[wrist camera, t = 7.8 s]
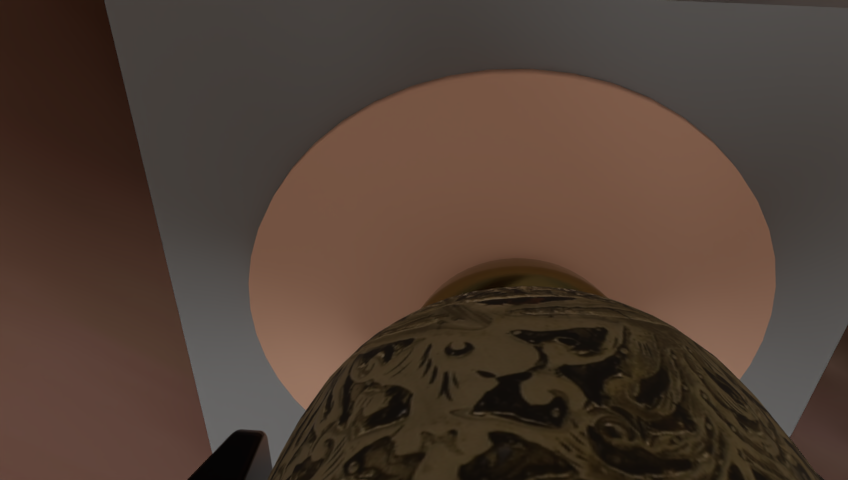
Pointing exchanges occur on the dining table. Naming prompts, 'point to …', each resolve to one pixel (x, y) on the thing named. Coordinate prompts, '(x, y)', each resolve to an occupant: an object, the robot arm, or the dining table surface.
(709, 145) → the board
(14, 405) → the dining table surface
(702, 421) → the decorative vase
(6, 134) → the dining table surface
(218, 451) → the robot arm
